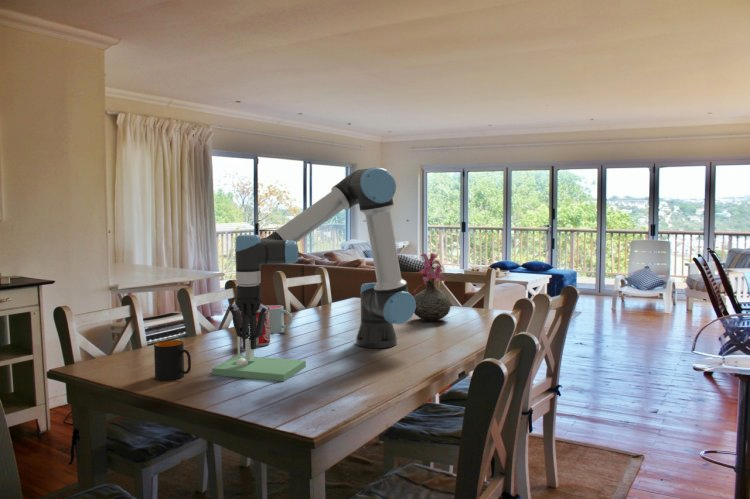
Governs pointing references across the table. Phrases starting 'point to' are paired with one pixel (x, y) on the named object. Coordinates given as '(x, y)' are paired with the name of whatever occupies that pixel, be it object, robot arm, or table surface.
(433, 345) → the table surface
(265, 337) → the soda can
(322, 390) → the table surface
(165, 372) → the mug
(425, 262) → the vase
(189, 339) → the table surface
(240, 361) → the ball
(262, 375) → the miniature golf green
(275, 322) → the mug
